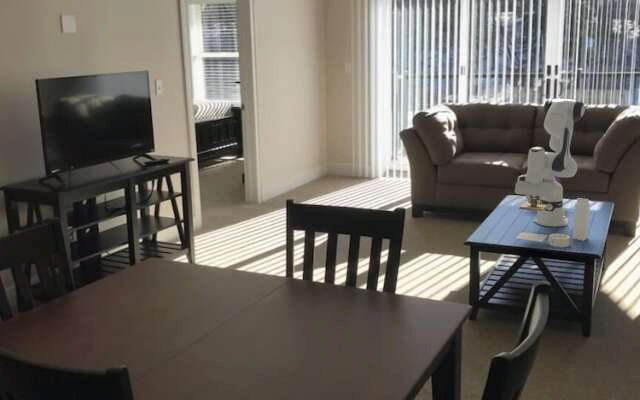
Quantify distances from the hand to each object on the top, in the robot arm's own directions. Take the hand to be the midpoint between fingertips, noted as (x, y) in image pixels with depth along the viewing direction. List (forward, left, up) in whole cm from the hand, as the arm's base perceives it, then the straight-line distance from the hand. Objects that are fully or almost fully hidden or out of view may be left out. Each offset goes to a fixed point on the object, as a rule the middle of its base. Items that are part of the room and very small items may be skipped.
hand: (533, 203), depth 368 cm
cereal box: (-73, -11, -19) cm, 76 cm away
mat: (0, 0, -19) cm, 19 cm away
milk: (-10, +23, -19) cm, 31 cm away
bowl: (+8, +16, -19) cm, 26 cm away
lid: (0, 0, -2) cm, 2 cm away
